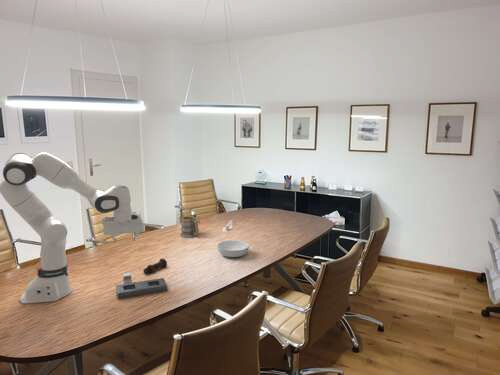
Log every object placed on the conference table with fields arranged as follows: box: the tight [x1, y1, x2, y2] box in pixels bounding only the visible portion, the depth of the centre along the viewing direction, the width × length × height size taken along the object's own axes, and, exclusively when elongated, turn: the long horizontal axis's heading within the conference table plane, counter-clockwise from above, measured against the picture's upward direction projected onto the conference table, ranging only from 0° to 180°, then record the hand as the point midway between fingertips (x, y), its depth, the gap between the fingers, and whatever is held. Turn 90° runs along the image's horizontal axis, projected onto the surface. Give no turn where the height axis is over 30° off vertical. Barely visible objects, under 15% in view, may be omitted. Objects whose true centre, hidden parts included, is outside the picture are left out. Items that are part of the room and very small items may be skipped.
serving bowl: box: [216, 239, 250, 258], centre depth 242 cm, size 21×21×7 cm
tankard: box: [179, 216, 201, 239], centre depth 282 cm, size 20×13×15 cm, turn 43°
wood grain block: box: [122, 272, 133, 284], centre depth 197 cm, size 4×4×5 cm
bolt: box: [143, 258, 168, 275], centre depth 215 cm, size 6×5×15 cm
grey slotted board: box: [115, 277, 168, 300], centre depth 189 cm, size 24×10×3 cm, turn 113°
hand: (124, 241), depth 194 cm, fingers open, 8 cm apart
